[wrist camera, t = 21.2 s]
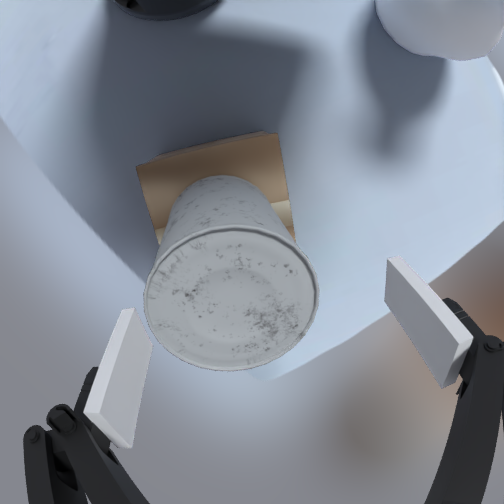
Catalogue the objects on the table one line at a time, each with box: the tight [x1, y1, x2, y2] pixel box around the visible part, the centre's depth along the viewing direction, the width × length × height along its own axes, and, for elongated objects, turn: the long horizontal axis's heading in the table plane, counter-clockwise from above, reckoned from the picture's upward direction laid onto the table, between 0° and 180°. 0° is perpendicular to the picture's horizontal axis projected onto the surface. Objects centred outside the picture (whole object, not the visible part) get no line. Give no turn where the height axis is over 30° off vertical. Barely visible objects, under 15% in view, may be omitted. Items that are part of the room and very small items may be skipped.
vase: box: [375, 0, 504, 61], centre depth 17 cm, size 14×14×20 cm
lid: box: [136, 133, 296, 246], centre depth 28 cm, size 14×12×1 cm
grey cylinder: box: [144, 175, 319, 371], centre depth 22 cm, size 10×10×12 cm
